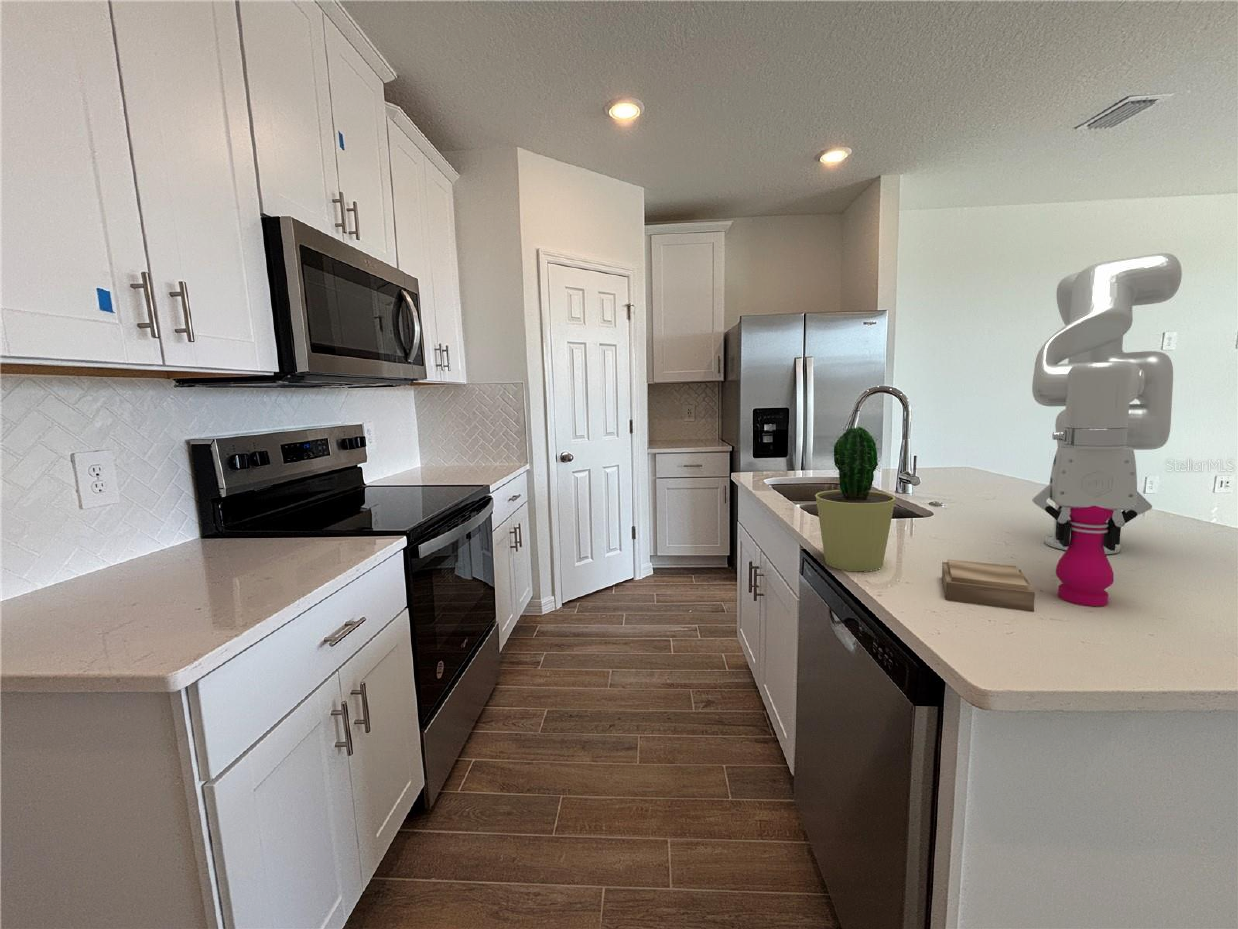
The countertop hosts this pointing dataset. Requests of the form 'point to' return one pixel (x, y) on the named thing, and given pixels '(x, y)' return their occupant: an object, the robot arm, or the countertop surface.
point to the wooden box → (987, 585)
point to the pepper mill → (1086, 559)
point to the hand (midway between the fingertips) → (1086, 545)
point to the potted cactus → (855, 507)
